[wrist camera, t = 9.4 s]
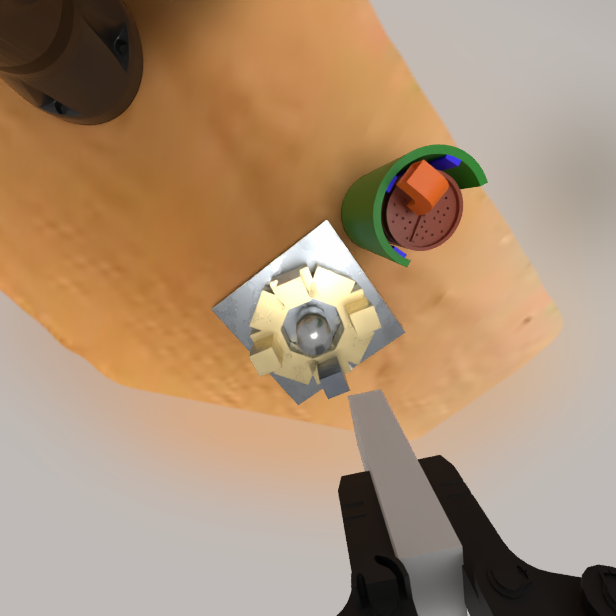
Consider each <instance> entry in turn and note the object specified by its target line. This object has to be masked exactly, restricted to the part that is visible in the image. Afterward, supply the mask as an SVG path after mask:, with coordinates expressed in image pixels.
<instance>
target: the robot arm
mask: <svg viewBox="0 0 616 616" xmlns="http://www.w3.org/2000/svg"><path fill="white" fill-rule="evenodd" d="M142 65H143V60H142V49H141V43H140V38H139V35H138V32H137V29H136V26H135V23H134V21H133V19H132V17H131V15H130V13H129V11H128V9H127V8H126V6H125V4H124V3H123V1H122V0H0V77H1V78H2V79H3V80H4V81H5V82H6V83H7V84H8V85H10V86H11V87H12V88H13V89H14V90H15V91H16V92H17V93H18V94H19V95H20V96H22V97H23V98H24V99H25V100H27V101H28V102H29V103H31V104H33V105H34V106H36V107H37V108H39V109H41V110H42V111H44V112H47V113H49V114H51V115H53V116H56V117H58V118H60V119H63V120H65V121H68V122H72V123H76V124H84V125H91V124H99V123H103V122H106V121H109V120H111V119H113V118H115V117H117V116H118V115H119V114H121V113H122V112H123V111H124V110H125V109H126V108H127V107H128V106H129V104H130V103H131V102H132V100H133V98H134V97H135V95H136V93H137V90H138V87H139V84H140V81H141V76H142ZM348 399H349V404H350V409H351V414H352V419H353V424H354V430H355V434H356V439H357V445H358V448H359V452H360V455H361V459H362V462H363V466H364V469H365V472H360V473H355V474H350V475H346V476H342V477H341V481H340V485H339V489H338V493H339V500H340V505H341V511H342V517H343V523H344V529H345V535H346V541H347V547H348V553H349V559H350V565H351V571H352V574H351V588H352V590H351V594H350V597H349V600H348V602H347V604H346V605H345V607H344V608H343V610H342V611H341V612H340V613H339V614H338V615H337V616H467V609H468V612H469V614H470V616H616V568H614V567H610V566H604V565H595V566H591V567H588V568H587V569H586V570H585V572H584V573H583V574H582V578H581V577H575V576H569V575H563V574H557V573H551V572H547V571H543V570H539V569H537V568H535V567H533V566H531V565H529V564H527V563H525V562H524V561H522V560H521V559H520V558H518V557H517V556H516V555H515V554H514V553H513V552H512V551H510V550H509V549H508V547H507V546H506V545H505V543H504V542H503V541H502V539H501V537H500V536H499V534H498V533H497V531H496V530H495V528H494V527H493V525H492V524H491V522H490V521H489V519H488V518H487V516H486V515H485V513H484V511H483V510H482V509H481V507H480V505H479V504H478V502H477V501H476V499H475V498H474V496H473V495H472V494H471V492H470V490H469V488H468V487H467V486H466V484H465V483H464V482H463V479H462V478H461V476H460V475H459V473H458V471H457V470H456V468H455V467H454V466H453V465H452V464H451V463H450V462H448V461H447V460H446V459H445V458H443V457H442V456H441V455H437V456H432V457H428V458H423V459H418V460H417V458H416V456H415V454H414V452H413V451H412V448H411V446H410V444H409V442H408V440H407V439H406V437H405V435H404V433H403V431H402V429H401V427H400V425H399V423H398V421H397V419H396V417H395V415H394V413H393V411H392V410H391V408H390V406H389V404H388V402H387V400H386V398H385V396H384V394H383V392H382V390H381V389H380V390H375V391H370V392H366V393H361V394H356V395H351V396H348Z"/></svg>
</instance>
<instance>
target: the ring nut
mask: <svg viewBox="0 0 616 616" xmlns="http://www.w3.org/2000/svg"><path fill="white" fill-rule="evenodd" d="M354 284H355V281H354V280H353V279H352V278H351V277H349V276H347V275H344V274H342V273H339V272H337V271H334V270H332V269H329V268H327V267H324V266H322V265H319V264H317V263H316V265H315V267H314V270H313V272H312V275H311V273H310V271H309V268H308V266H307V263H306V264H304V265H301V266H299V267H297V268H294V269H292V270H290V271H287V272H285V273H283V274H280V275H278V276H276V277H273V278H271V281H270V285H271V287H272V288H271V287H268V286H264V288H263V291H262V293H261V296H260V299H259V301H258V304H257V307H256V309H255V312H254V315H253V317H252V320H251V323H250V325H249V326H250V327H253V328H252V331H251V334H250V337H251V339H252V341H253V346H252V349H251V352H250V355H249V357H250V359H251V361H252V363H253V365H254V367H255V369H256V370H257V372H258V374H259V376H260V377H261V376H263V375H266V374H268V373H271V372H273V371H274V374H277V375H280V376H283V377H286V378H289V379H292V380H295V381H298V382H301V383H304V384H307V385H308V384H309V382H310V380H311V378H312V376H314V378H315V380H316V382H317V385H318V384H320V383H321V385H322V387H323V389H324V391H325V394H326V396H327V398H328V399H330V398H332V397H335V396H337V395H340V394H342V393H345V392H348V391H350V389H349V386H348V383H347V380H346V377H345V373H348V372H350V371H351V368H350V366H349V363H348V361H349V362H352V363H355V364H357V365H359V363H360V361H361V359H362V357H363V355H364V353H365V351H366V349H367V347H368V345H369V343H370V341H371V339H372V337H373V335H374V333H375V332H374V330H377V329H379V328H382V327H381V324H380V322H379V319H378V316H377V313H376V311H375V308H374V305H373V304H372V303H371V302H370V301H369V300H368V299H367V298H366V297H365V295H364V292H363V289H362V288H361V287H360V286H359V285H358V284H356V285H354ZM312 298H314V299H316V300H319V301H322V302H324V303H327V304H330V305H332V306H335V307H336V309H337V311H338V314H339V316H340V319H341V323H340V325H339V328H338V330H337V332H336V334H335V336H334V338H333V341H332V343H331V345H330V347H329V348H328V350H326V351H325V352H324V353H322V354H319V355H309V354H307V353H305V352H303V351H302V350H301V349H300V348H299V346H298V345H297V344H294V343H292V342H290V340H289V338H288V336H287V334H286V332H285V330H284V328H283V322H284V320H285V317H286V315H287V312H288V310H289V309H292V308H294V307H296V306H299V305H301V304H303V303H306V302H308V301H311V300H310V299H312Z"/></svg>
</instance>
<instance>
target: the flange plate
mask: <svg viewBox="0 0 616 616" xmlns="http://www.w3.org/2000/svg"><path fill="white" fill-rule="evenodd" d="M306 263H307V266H308V268H309V271H310V273H311V275H312V272H313V270H314V267H315V265H316V263H317V264H319V265H322V266H324V267H327V268H329V269H332V270H334V271H337V272H339V273H342V274H344V275H347V276H349V277H351V278H352V279H353V280H354V281H355V284H354V285H356V284H358V285H359V286H360V287H361V288H362V289H363V292H364V295H365V297H366V298H367V299H368V300H369V301H370V302H371V303H372V304H373V305H374V308H375V311H376V313H377V316H378V319H379V322H380V324H381V327H382V328H379V329H377V330H374V332H375V333H374V335H373V337H372V339H371V341H370V343H369V345H368V347H367V349H366V351H365V353H364V355H363V357H362V359H361V361H360V363H361V362H362V361H364V360H365V359H367V358H368V357H370V356H371V355H373V354H374V353H376V352H377V351H379V350H380V349H382V348H383V347H384V346H386V345H387V344H389V343H390V342H392V341H393V340H395V339H396V338H398V337H399V336H401V335H402V334H404V333H405V331H404V330H403V328H402V327H401V325H400V324H399V322H398V321H397V320H396V318H395V317H394V315H393V314H392V312H391V311H390V309H389V308H388V307H387V305H386V304H385V302H384V301H383V299H382V298H381V297H380V295H379V294H378V292H377V291H376V289H375V288H374V287H373V285H372V284H371V282H370V281H369V279H368V278H367V276H366V275H365V274H364V272H363V271H362V269H361V268H360V266H359V265H358V264H357V262H356V261H355V259H354V258H353V256H352V255H351V253H350V252H349V251H348V249H347V248H346V246H345V245H344V243H343V242H342V241H341V239H340V238H339V236H338V235H337V233H336V232H335V231H334V229H333V228H332V226H331V225H330V223H329V222H328V220H325V221H323V222H322V223H321V224H320V225H318V226H317V227H316V228H314V229H313V230H312V231H311V232H309V233H308V234H307V235H305V236H304V237H303V238H302V239H300V240H299V241H298V242H296V243H295V244H294V245H293V246H291V247H290V248H289V249H287V250H286V251H285V252H283V253H282V254H281V255H280V256H278V257H277V258H276V259H274V260H273V261H272V262H271V263H269V264H268V265H267V266H265V267H264V268H263V269H262V270H260V271H259V272H258V273H256V274H255V275H254V276H252V277H251V278H250V279H249V280H247V281H246V282H245V283H243V284H242V285H241V286H240V287H238V288H237V289H236V290H234V291H233V292H232V293H231V294H229V295H228V296H227V297H225V298H224V299H223V300H222V301H220V302H219V303H218V304H216V305H215V306H214V307H213V308H212V310H213V312H214V313H215V314H216V315H217V316H218V317H219V318H220V319H221V320H222V322H223V323H224V324H225V325H226V326H227V327H228V328H229V329H230V330H231V331H232V333H233V334H234V335H235V336H236V337H237V338H238V339H239V340H240V341H241V342H242V344H243V345H244V346H245V347H246V348H247V349H248V350H249V351H250V352H251V349H252V346H253V341H252V339H251V337H250V334H251V331H252V328H253V327H250V326H249V325H250V323H251V320H252V317H253V315H254V312H255V309H256V307H257V304H258V301H259V299H260V296H261V293H262V291H263V288H264V286H268V287H271V285H270V281H271V278H273V277H276V276H278V275H280V274H283V273H285V272H287V271H290V270H292V269H294V268H297V267H299V266H301V265H304V264H306ZM271 288H272V287H271ZM310 300H311V301H308V302H306V303H303V304H301V305H299V306H296V307H294V308H292V309H289V310H288V312H287V315H286V317H285V320H284V322H283V328H284V330H285V332H286V334H287V336H288V338H289V340H290V342H292V343H294V344H297V345H298V346H299V348H300V349H301V350H302V351H303V352H305V353H307V354H309V355H319V354H322V353H324V352H325V351H326V350H328V348H329V347H330V345H331V343H332V341H333V338H334V336H335V334H336V332H337V330H338V328H339V325H340V323H341V319H340V316H339V314H338V311H337V309H336V307H335V306H332V305H330V304H327V303H324V302H322V301H319V300H316V299H314V298H312V299H310ZM348 363H349V366H350V368H351V370H352V369H353V368H354V367H355V366H357V364H355V363H352V362H349V361H348ZM270 374H271V376H272V377H273V378H274V379H275V380H276V381H277V382H278V383H279V384H280V385H281V387H282V388H283V389H284V390H285V391H286V392H287V393H288V394H289V395H290V396H291V398H292V399H293V400H294V401H295V402H296V403H297V404H298V405H299V404H301V403H302V402H304V401H305V400H307V399H308V398H309V397H311V396H312V395H314V394H315V393H317V392H318V391H320V390H321V389H323V387H322V385H321V383H320V384H318V385H317V382H316V380H315V378H314V376H312V378H311V380H310V382H309V384H308V385H307V384H304V383H301V382H298V381H295V380H292V379H289V378H286V377H283V376H280V375H277V374H274V371H273V372H271V373H270Z"/></svg>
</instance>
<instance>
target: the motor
mask: <svg viewBox="0 0 616 616" xmlns="http://www.w3.org/2000/svg"><path fill="white" fill-rule="evenodd" d="M485 183H487V179H486V176H485V174H484V172H483V170H482V168H481V167H480V165H479V164H478V163H477V162H476V161H475V159H474V158H473V157H471V156H470V155H469V154H467V153H466V152H465V151H463V150H461V149H459V148H456V147H453V146H449V145H429V146H425V147H421V148H418V149H416V150H414V151H412V152H410V153H408V154H406V155H404V156H402V157H400V158H398V159H396V160H394V161H392V162H390V163H388V164H386V165H384V166H382V167H380V168H378V169H377V170H375V171H373V172H371V173H369V174H367V175H365V176H363V177H361V178H360V179H358V180H357V181H356V182H355V183H354V184H353V185H352V186H351V187H350V189H349V190H348V192H347V193H346V195H345V198H344V200H343V204H342V209H341V218H342V224H343V227H344V230H345V232H346V234H347V235H348V237H349V238H350V239H351V240H352V241H353V242H354V243H355V244H356V245H358V246H360V247H362V248H364V249H366V250H369V251H371V252H373V253H375V254H378V255H380V256H382V257H385V258H387V259H389V260H391V261H394V262H396V263H398V264H401V265H403V266H405V267H408V265H409V263H410V261H411V260H408V259H406V258H405V256H406V254H405V253H403V252H402V251H400V250H399V249H398V248H396V247H394V246H391V245H390V244H393V245H396V246H400V247H404V248H407V249H411V250H415V251H425V250H430V249H433V248H436V247H438V246H440V245H441V244H443V243H444V242H445V241H447V240H448V239H449V238H450V237H451V236H452V234H453V233H454V232H455V230H456V229H457V227H458V225H459V222H460V220H461V216H462V212H463V198H462V194H461V191H460V189H465V188H472V187H478V186H482V185H484V184H485Z"/></svg>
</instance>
